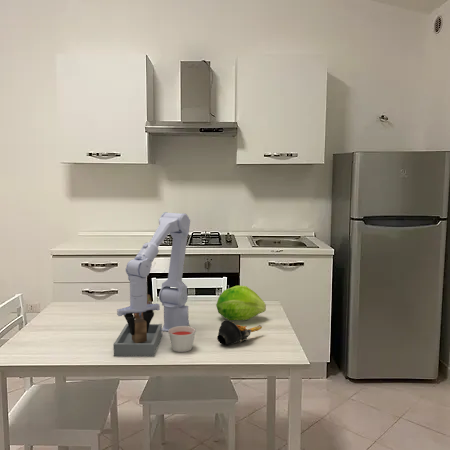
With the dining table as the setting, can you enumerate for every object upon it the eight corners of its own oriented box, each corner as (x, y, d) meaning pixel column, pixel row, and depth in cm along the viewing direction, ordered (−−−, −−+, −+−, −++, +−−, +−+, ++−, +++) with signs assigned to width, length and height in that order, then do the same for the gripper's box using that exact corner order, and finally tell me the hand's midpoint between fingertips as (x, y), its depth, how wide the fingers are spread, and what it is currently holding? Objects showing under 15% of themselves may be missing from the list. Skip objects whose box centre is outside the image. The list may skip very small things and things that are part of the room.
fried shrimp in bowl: (207, 330, 164) (237, 304, 176) (222, 357, 165) (252, 329, 177) (223, 327, 157) (254, 300, 169) (239, 355, 158) (269, 326, 170)
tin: (139, 323, 186) (139, 302, 185) (132, 322, 187) (131, 301, 186) (152, 311, 201) (152, 292, 200) (145, 311, 201) (145, 292, 200)
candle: (191, 342, 166) (191, 324, 165) (198, 351, 157) (198, 333, 156) (166, 345, 163) (166, 327, 162) (171, 355, 154) (171, 336, 154)
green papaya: (265, 326, 182) (266, 292, 181) (213, 325, 184) (214, 291, 182) (265, 314, 198) (266, 282, 196) (217, 313, 199) (217, 281, 198)
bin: (161, 334, 173) (161, 324, 172) (153, 356, 153) (153, 344, 152) (126, 334, 173) (126, 323, 172) (113, 356, 153) (113, 344, 152)
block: (142, 337, 165) (142, 318, 164) (146, 341, 162) (146, 321, 161) (131, 339, 163) (131, 319, 162) (135, 343, 160) (135, 323, 159)
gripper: (154, 289, 168) (154, 326, 169) (114, 294, 161) (114, 332, 162) (161, 293, 162) (162, 332, 163) (120, 299, 155) (121, 339, 156)
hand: (139, 333), depth 162 cm, fingers open, 4 cm apart
